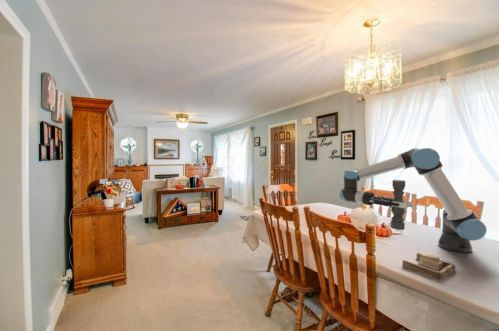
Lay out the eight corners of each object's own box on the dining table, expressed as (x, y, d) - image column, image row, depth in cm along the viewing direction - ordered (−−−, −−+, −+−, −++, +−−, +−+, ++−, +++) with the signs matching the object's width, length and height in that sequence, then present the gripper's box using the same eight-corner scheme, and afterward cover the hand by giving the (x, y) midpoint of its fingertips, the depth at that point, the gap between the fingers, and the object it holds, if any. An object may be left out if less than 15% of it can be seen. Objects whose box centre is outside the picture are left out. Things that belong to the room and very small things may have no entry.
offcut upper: (420, 257, 122) (420, 252, 122) (437, 260, 118) (437, 254, 118) (421, 261, 118) (421, 255, 118) (439, 264, 114) (439, 258, 114)
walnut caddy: (417, 258, 127) (417, 252, 127) (454, 270, 114) (454, 264, 114) (402, 266, 118) (402, 260, 118) (440, 280, 105) (440, 273, 105)
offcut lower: (423, 262, 124) (423, 256, 123) (442, 268, 117) (442, 262, 117) (419, 264, 121) (419, 258, 121) (438, 271, 114) (438, 264, 114)
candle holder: (399, 226, 128) (400, 179, 126) (407, 229, 121) (408, 181, 120) (388, 226, 127) (389, 179, 126) (395, 230, 121) (396, 181, 120)
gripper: (373, 202, 144) (417, 210, 124) (355, 206, 134) (400, 215, 115) (374, 190, 143) (417, 196, 124) (356, 193, 134) (400, 199, 114)
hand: (409, 205), depth 119 cm, fingers closed on candle holder, 5 cm apart
